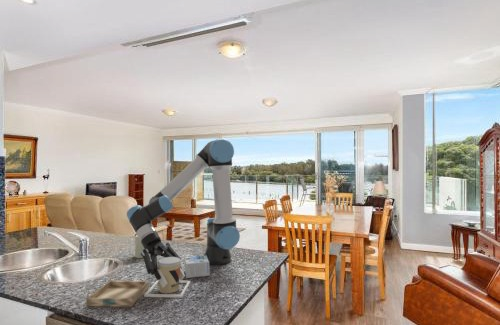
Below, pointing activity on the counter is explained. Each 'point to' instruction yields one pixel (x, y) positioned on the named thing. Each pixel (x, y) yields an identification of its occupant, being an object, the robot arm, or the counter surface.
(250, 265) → the counter surface
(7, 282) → the counter surface
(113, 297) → the wooden tray
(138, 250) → the can
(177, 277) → the coffee cup
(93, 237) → the counter surface
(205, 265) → the light bulb box
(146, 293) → the white flat square frame
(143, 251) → the robot arm
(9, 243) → the counter surface
